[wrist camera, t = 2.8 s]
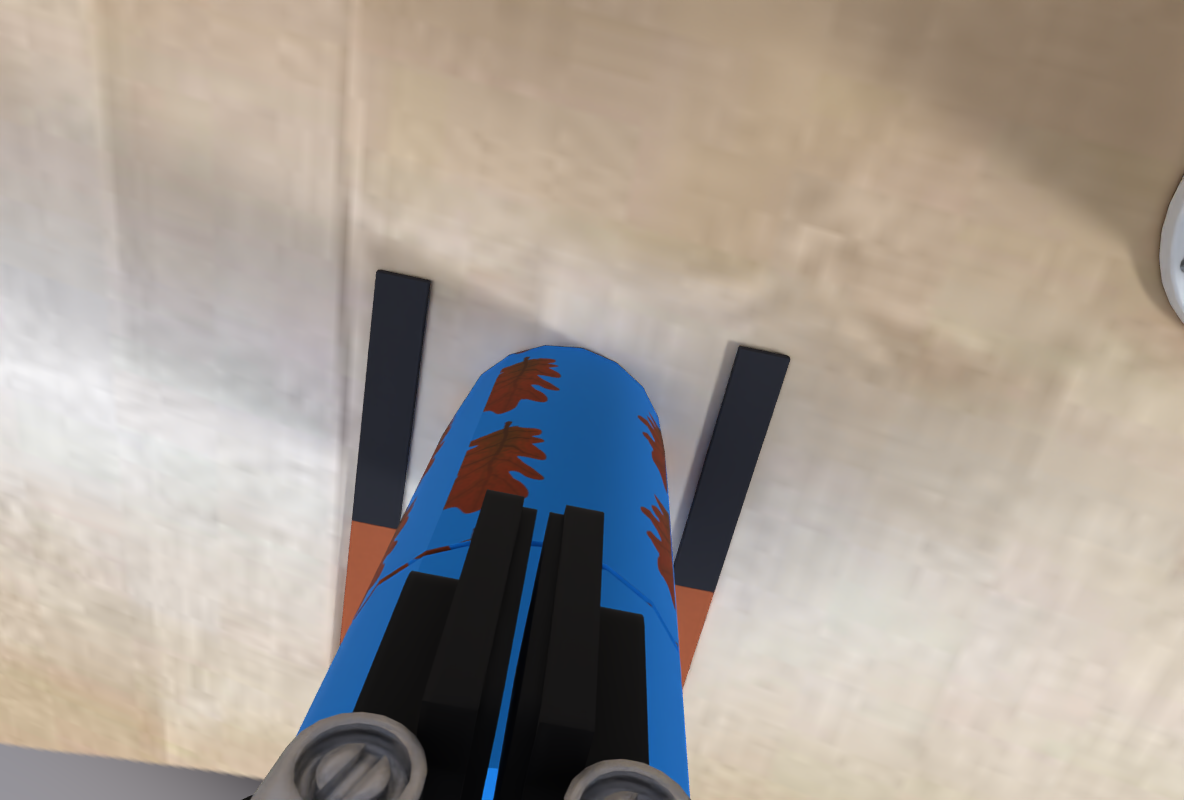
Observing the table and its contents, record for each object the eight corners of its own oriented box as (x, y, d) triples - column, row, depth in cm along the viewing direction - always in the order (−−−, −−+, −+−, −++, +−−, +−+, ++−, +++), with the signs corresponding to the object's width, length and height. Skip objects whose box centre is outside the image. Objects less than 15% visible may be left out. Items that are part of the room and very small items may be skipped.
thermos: (425, 484, 43) (189, 985, 20) (496, 307, 39) (301, 687, 16) (613, 558, 45) (589, 1106, 22) (701, 394, 40) (788, 860, 18)
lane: (378, 269, 39) (376, 271, 38) (789, 355, 39) (790, 358, 39) (337, 683, 49) (335, 688, 49) (662, 745, 50) (662, 750, 50)
